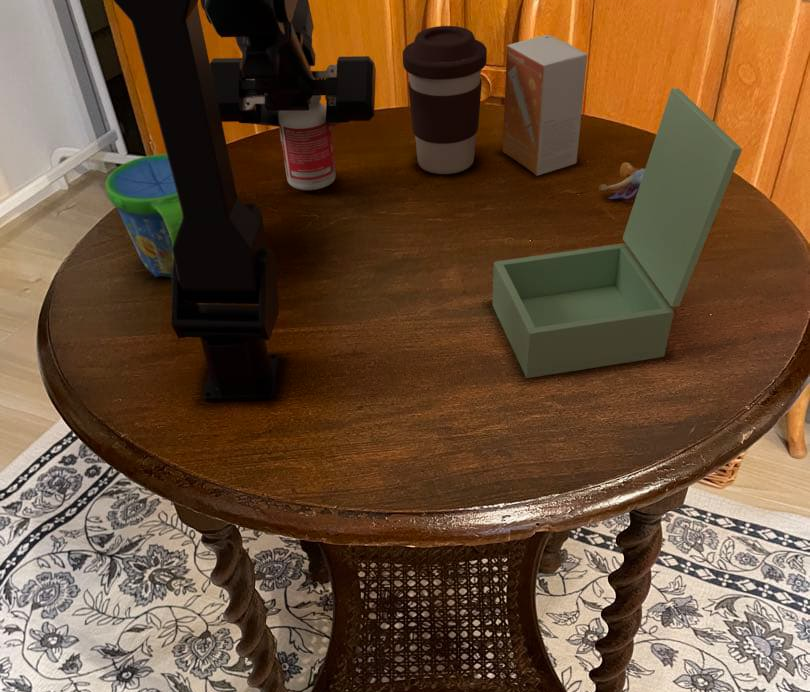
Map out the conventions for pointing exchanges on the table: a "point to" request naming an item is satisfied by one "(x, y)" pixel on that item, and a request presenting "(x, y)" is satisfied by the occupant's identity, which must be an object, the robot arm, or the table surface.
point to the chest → (580, 310)
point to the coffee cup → (445, 96)
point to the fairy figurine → (627, 180)
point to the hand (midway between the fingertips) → (307, 122)
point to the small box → (543, 103)
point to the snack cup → (148, 209)
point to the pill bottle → (307, 147)
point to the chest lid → (679, 194)
